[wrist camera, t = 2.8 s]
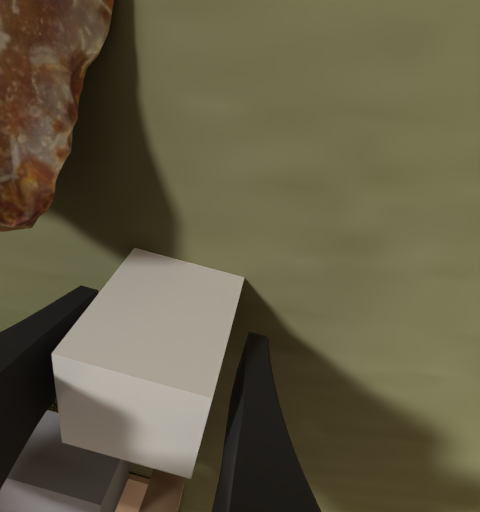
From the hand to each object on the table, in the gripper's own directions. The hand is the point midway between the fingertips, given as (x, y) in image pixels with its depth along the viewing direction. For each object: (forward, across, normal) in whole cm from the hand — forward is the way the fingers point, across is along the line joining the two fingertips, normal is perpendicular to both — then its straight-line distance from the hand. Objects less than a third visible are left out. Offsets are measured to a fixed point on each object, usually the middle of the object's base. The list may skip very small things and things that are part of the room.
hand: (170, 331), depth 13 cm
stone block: (-1, 0, 0) cm, 1 cm away
